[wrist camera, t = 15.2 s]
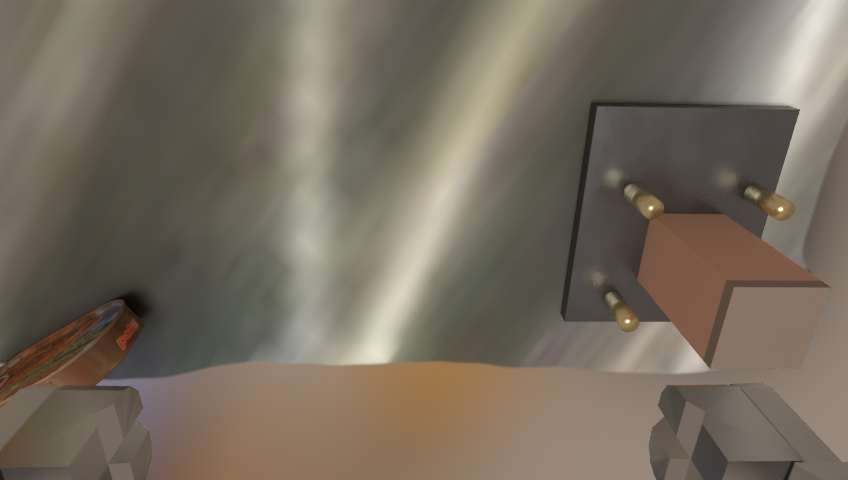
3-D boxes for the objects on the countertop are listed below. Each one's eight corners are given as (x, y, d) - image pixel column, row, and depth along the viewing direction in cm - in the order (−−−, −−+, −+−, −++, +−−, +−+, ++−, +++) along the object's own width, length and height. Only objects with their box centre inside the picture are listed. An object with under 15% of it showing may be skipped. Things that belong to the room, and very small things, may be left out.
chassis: (591, 103, 38) (615, 117, 33) (788, 106, 38) (837, 120, 34) (560, 313, 45) (577, 347, 40) (727, 313, 45) (761, 347, 41)
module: (651, 213, 40) (734, 287, 30) (724, 214, 40) (831, 287, 30) (637, 279, 42) (710, 368, 32) (706, 279, 42) (800, 368, 32)
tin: (140, 283, 42) (82, 347, 35) (167, 313, 43) (116, 381, 36) (-3, 363, 45) (-87, 440, 37) (26, 389, 46) (-49, 469, 38)
